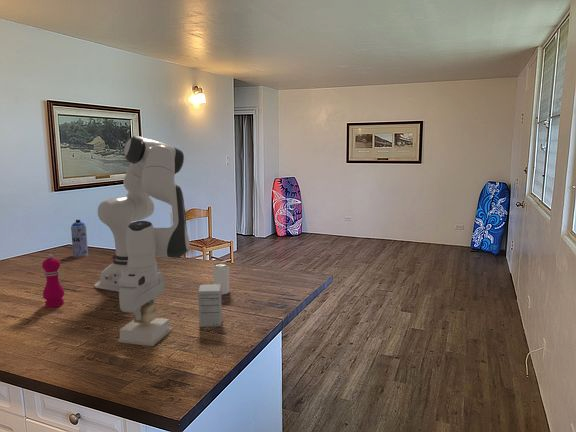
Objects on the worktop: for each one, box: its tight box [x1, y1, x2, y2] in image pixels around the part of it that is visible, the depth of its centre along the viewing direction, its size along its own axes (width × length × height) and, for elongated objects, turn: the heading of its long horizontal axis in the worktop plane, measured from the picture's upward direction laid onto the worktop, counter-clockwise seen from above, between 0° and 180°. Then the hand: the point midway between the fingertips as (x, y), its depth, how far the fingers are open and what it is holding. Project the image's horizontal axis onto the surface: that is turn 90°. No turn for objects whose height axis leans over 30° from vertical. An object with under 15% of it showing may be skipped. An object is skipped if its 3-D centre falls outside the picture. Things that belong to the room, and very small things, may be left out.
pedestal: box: [117, 317, 173, 347], centre depth 140 cm, size 12×12×4 cm
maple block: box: [132, 302, 157, 324], centre depth 139 cm, size 5×5×5 cm
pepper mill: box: [41, 253, 65, 309], centre depth 166 cm, size 7×7×20 cm
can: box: [212, 262, 230, 296], centre depth 181 cm, size 6×6×12 cm
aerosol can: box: [70, 219, 89, 258], centre depth 242 cm, size 8×8×20 cm
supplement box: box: [197, 283, 223, 328], centre depth 150 cm, size 7×7×13 cm
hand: (144, 315), depth 139 cm, fingers closed on maple block, 5 cm apart
